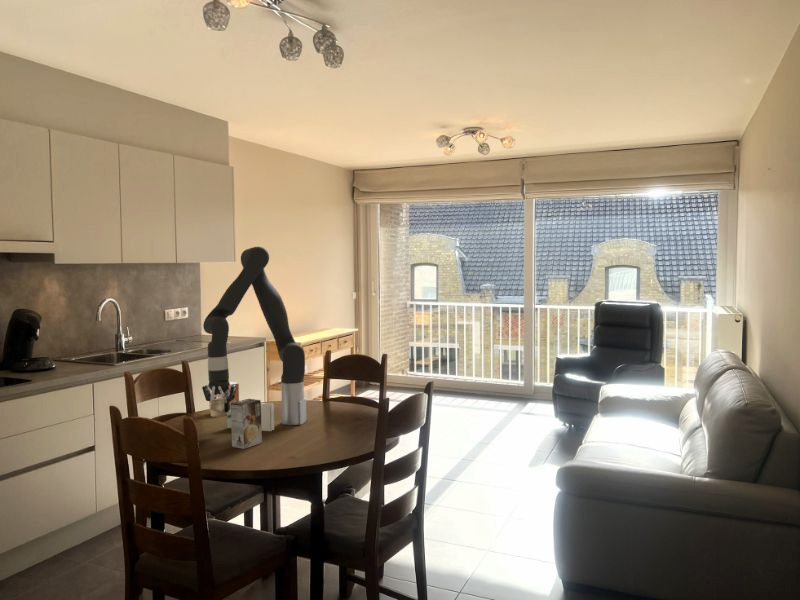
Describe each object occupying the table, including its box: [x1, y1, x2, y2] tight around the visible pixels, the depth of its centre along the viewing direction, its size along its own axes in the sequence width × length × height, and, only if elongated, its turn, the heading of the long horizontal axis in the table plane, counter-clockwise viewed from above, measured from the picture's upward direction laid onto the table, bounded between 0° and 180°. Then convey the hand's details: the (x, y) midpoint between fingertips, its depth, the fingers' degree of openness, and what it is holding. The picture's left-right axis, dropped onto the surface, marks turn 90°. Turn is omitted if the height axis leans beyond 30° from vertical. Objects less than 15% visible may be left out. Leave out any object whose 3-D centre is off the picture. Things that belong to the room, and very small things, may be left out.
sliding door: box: [226, 405, 232, 429], centre depth 247 cm, size 11×2×9 cm, turn 76°
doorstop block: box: [209, 396, 231, 417], centre depth 237 cm, size 4×7×6 cm, turn 166°
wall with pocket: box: [261, 402, 275, 432], centre depth 245 cm, size 9×3×11 cm, turn 76°
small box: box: [217, 381, 240, 405], centre depth 279 cm, size 8×6×13 cm
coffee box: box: [231, 398, 263, 450], centre depth 224 cm, size 9×6×16 cm
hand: (220, 411), depth 237 cm, fingers closed on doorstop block, 4 cm apart
